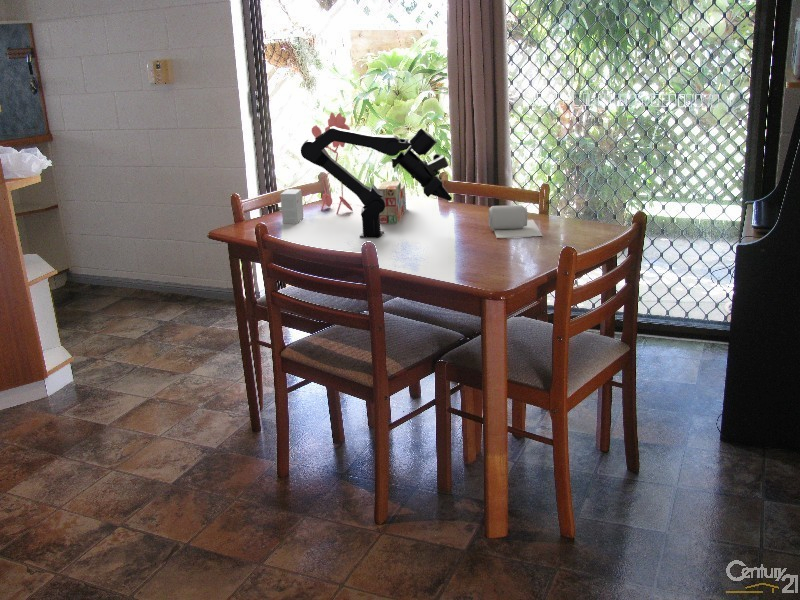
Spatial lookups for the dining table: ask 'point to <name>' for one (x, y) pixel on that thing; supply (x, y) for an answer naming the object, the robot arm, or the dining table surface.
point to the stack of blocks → (393, 201)
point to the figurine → (316, 131)
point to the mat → (519, 231)
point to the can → (507, 217)
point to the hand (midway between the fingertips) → (450, 199)
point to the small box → (291, 205)
